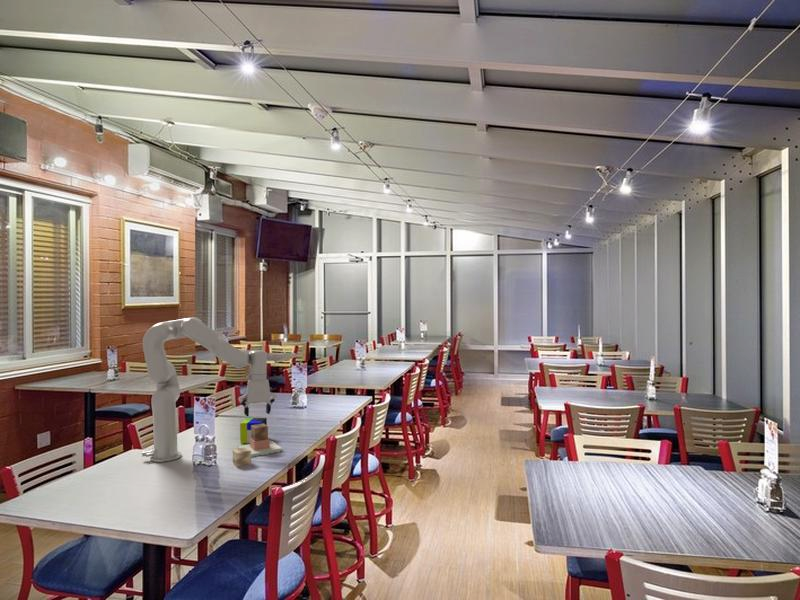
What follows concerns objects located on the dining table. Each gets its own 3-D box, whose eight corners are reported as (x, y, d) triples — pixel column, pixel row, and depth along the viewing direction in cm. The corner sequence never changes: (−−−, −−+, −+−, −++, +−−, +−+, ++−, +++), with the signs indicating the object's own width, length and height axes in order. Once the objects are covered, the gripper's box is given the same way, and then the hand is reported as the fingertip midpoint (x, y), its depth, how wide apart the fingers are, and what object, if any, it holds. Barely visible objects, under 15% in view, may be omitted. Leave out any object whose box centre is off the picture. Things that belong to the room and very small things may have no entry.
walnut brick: (254, 441, 230) (254, 428, 230) (251, 438, 235) (250, 425, 235) (268, 439, 233) (267, 426, 233) (264, 436, 238) (263, 423, 238)
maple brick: (236, 467, 211) (236, 453, 211) (232, 463, 216) (232, 449, 216) (251, 464, 214) (250, 450, 214) (247, 460, 219) (246, 447, 219)
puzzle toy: (261, 443, 244) (260, 422, 244) (240, 444, 245) (240, 423, 244) (267, 437, 254) (266, 417, 254) (247, 438, 255) (246, 418, 254)
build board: (247, 457, 223) (246, 445, 223) (237, 448, 237) (237, 437, 236) (282, 451, 231) (282, 439, 231) (271, 442, 245) (271, 432, 245)
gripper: (241, 379, 226) (240, 418, 226) (279, 377, 235) (278, 414, 235) (236, 377, 232) (236, 414, 232) (273, 374, 241) (273, 410, 241)
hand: (257, 414), depth 234 cm, fingers open, 9 cm apart
